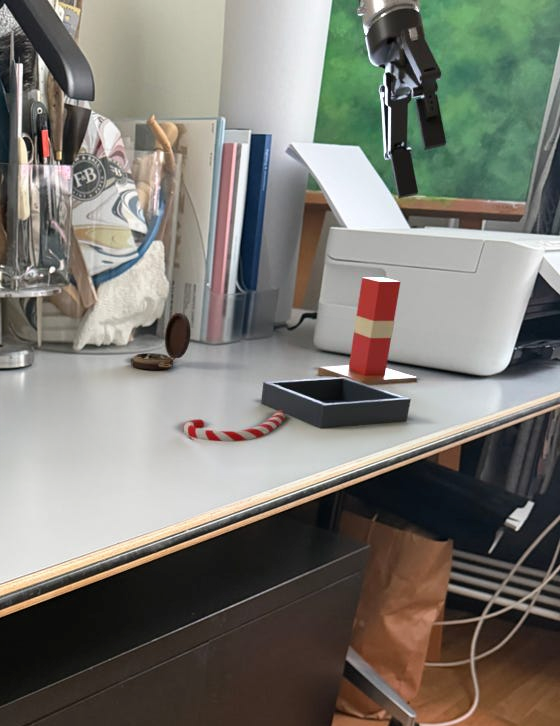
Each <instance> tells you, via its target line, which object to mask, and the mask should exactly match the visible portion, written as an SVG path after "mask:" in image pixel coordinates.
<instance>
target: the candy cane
mask: <svg viewBox="0 0 560 726" xmlns="http://www.w3.org/2000/svg"><path fill="white" fill-rule="evenodd" d="M286 415H287V414H285V412H284V411H281V410H280V411H278V410H276V411H275V413H274V414H273V415H272V416H271V417H270V418H269V419H267V420H266V421H264V422H263V423H261V424H259V425H257V426H254V427H250V428H247V429H242V430H211V429H204V427H205V421H204V420H203V419H200V418H199V419H191V420H188V421H186V422H185V423H184V424H183V426H182V432H183V434H184V435H185V436H186V437H187V438H189V439H190V440H193V438H195V439H199V440H205V441H215V442H239V441H248V440H253V439H256V438H260V437H262V436H266V435H267V434H269V433H271V432H272V431H273V430H275V429H276V428H277V427H279V426H280V425H281V424H282V423H283V422H284V421H285V419H286Z"/></svg>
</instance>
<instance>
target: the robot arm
mask: <svg viewBox="0 0 560 726" xmlns="http://www.w3.org/2000/svg"><path fill="white" fill-rule="evenodd" d="M358 5H359V7H357V10H356V13H357V15H358V16H361V19H362V25H363V31H364V34H365V43H366V49H367V53H368V59H369V61H370V63H371V64H372V65H373V66H375V67H379V68H382V69H384V73H383V80H382V83H383V84H380V85H379V89H378V92H379V98H380V105H381V106H380V107H381V121H382V122H381V123H382V124H381V125H382V142H383V158H384V160H389V159H390V164H391V168H392V174H393V179H394V183H395V188H396V194H397V195H396V196H397V199H398V200H400V199H403V198H408V197H412V196H417V195H418V194H419V189H418V184H417V179H416V174H415V173H416V172H415V169H414V163H413V157H412V152H413V148H411V147H410V146H409V147H408V121H409V120H408V118H409V104H410V103H411V102H412V99H414V98H416V99H415V101H414V106H415V112H416V117H417V122H418V127H419V131H420V132H419V133H420V137H421V142H422V148H423V151H427V150H431V149H437V148H440V147H444V146H446V144H447V138H446V134H445V128H444V124H443V118H442V113H441V109H440V108H441V107H440V104H439V98H438V97H439V96H438V94H436V93H438V90H439V85H438V82H437V81H438V80H441V77H442V71H441V68H440V66H439V64H438V63H437V60H436V58H435V57H434V54H433V53H432V51H431V48H430V46H429V44H428V42H427V41H426V34H425V28H424V23H423V18H422V14H421V5H420V0H358ZM418 97H420V98H418Z"/></svg>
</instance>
